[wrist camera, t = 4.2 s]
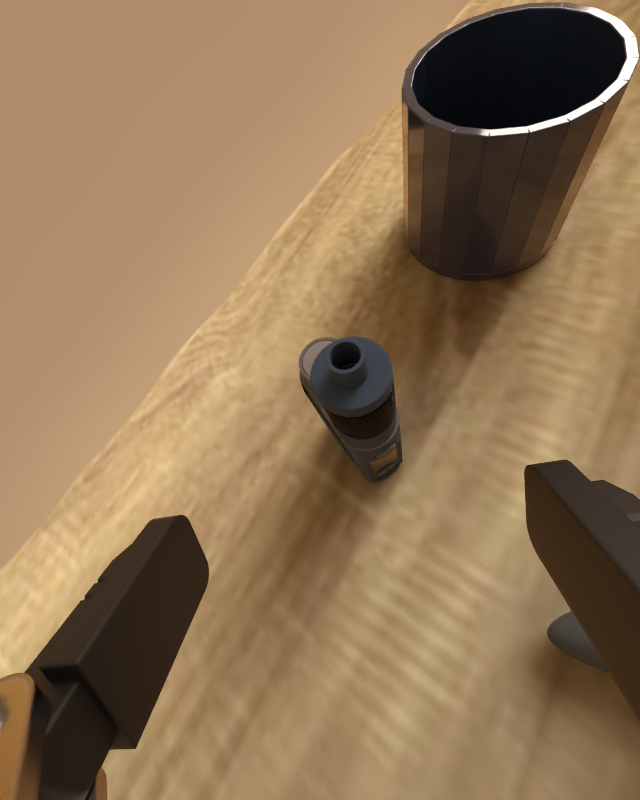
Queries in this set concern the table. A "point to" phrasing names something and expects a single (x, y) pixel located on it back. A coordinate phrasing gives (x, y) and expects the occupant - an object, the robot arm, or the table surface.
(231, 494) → the table surface
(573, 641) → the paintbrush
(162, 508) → the table surface
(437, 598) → the table surface
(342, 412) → the vaping device
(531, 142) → the pen cup
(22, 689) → the robot arm
